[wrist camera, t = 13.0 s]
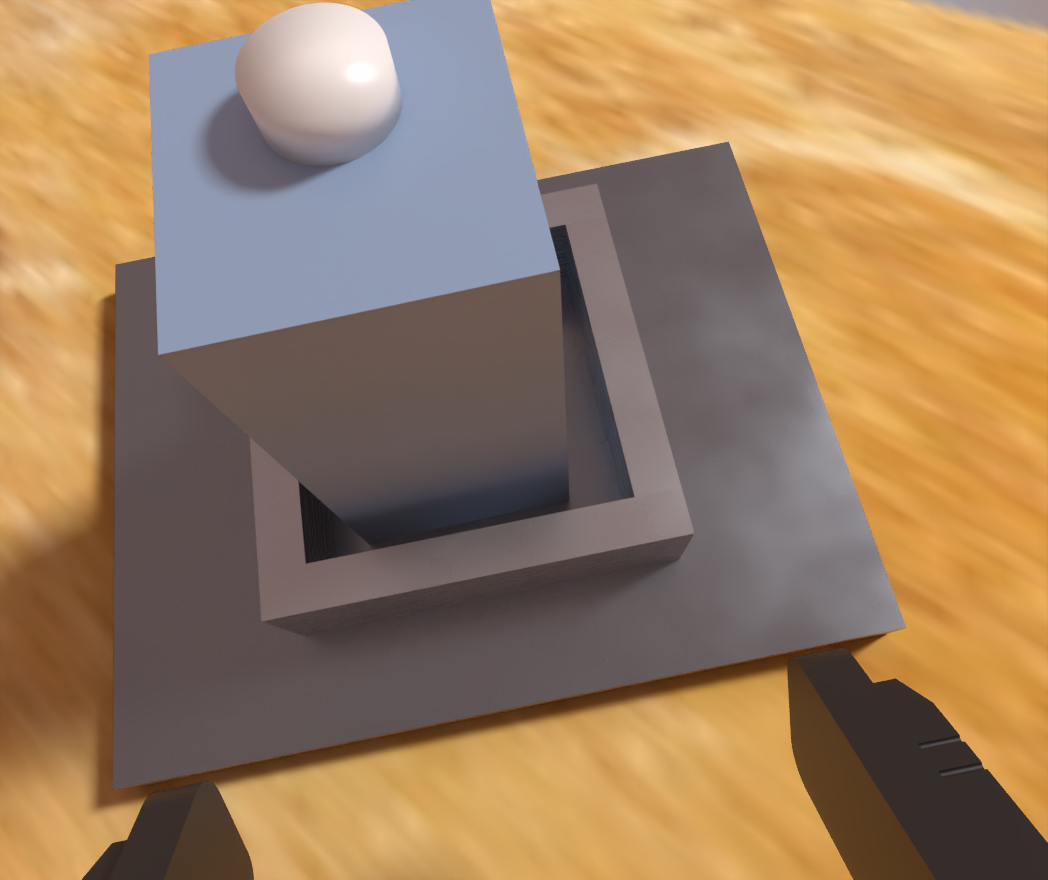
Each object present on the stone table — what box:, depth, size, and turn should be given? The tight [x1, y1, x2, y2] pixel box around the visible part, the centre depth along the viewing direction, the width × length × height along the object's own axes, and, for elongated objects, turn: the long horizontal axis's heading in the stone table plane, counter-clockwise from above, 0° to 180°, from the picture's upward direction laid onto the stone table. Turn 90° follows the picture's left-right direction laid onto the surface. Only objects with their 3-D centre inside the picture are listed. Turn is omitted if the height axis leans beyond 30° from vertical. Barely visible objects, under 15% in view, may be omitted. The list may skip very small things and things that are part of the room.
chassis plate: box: [113, 142, 906, 790], centre depth 19 cm, size 18×14×4 cm
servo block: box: [149, 0, 569, 543], centre depth 15 cm, size 5×7×11 cm
